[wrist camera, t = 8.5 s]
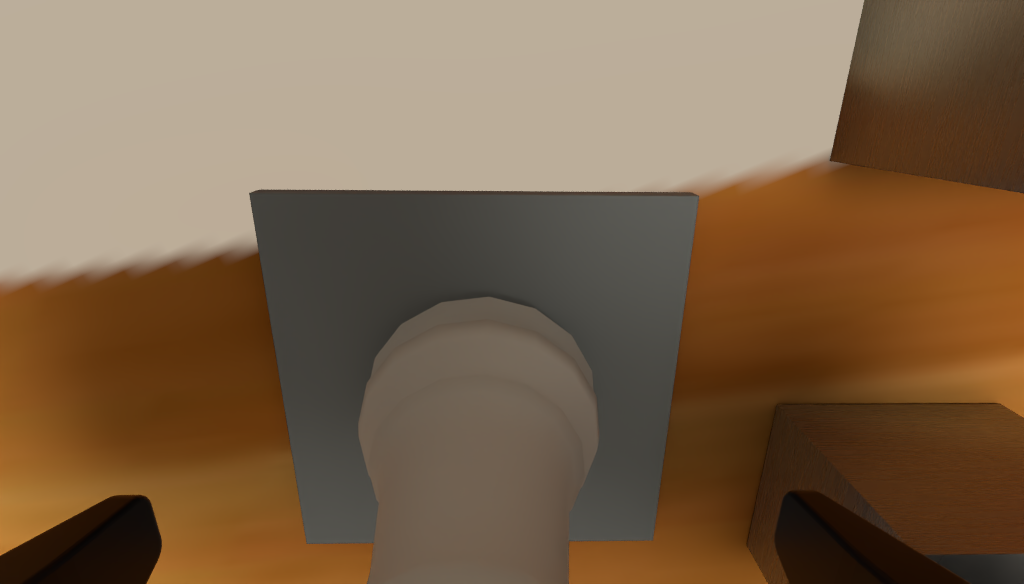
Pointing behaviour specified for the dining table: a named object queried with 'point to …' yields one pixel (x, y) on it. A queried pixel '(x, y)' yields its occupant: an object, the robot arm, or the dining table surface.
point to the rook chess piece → (477, 445)
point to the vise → (920, 427)
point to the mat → (466, 275)
